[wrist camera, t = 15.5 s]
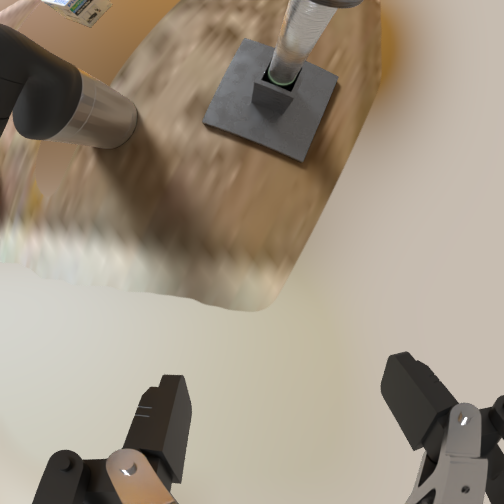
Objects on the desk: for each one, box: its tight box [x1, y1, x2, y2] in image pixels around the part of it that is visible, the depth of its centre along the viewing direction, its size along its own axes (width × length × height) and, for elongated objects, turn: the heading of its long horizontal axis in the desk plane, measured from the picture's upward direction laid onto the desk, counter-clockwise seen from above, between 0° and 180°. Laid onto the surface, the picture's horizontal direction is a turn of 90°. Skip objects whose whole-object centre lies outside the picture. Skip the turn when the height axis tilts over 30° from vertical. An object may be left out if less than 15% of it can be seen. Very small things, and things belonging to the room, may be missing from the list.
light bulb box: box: [41, 0, 113, 28], centre depth 24 cm, size 11×7×11 cm, turn 52°
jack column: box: [266, 0, 363, 91], centre depth 19 cm, size 5×5×24 cm
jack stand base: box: [202, 38, 338, 162], centre depth 32 cm, size 16×16×10 cm
